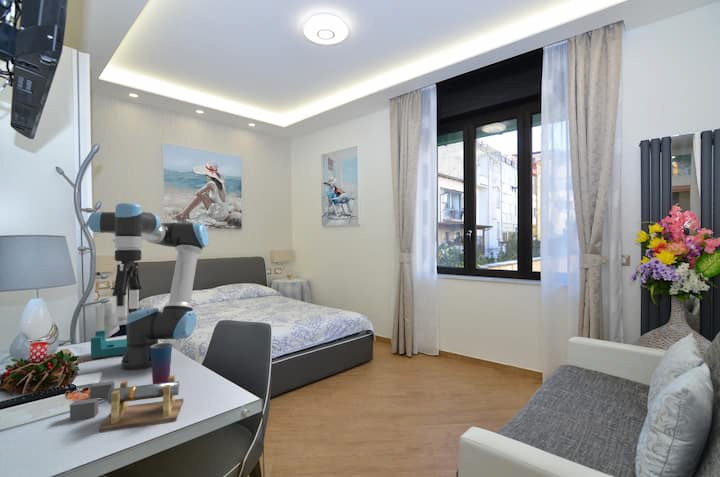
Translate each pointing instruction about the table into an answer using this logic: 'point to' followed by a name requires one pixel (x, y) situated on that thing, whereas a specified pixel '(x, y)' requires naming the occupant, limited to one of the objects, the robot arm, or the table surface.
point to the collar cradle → (141, 410)
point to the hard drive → (87, 379)
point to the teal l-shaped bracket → (106, 345)
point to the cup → (161, 362)
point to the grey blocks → (90, 401)
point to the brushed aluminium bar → (144, 391)
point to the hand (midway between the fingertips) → (127, 312)
